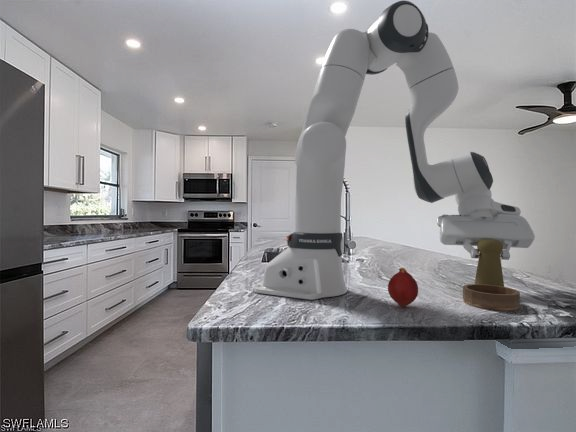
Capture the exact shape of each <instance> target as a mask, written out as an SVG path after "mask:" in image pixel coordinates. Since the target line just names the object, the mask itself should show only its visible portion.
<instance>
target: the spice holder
mask: <svg viewBox="0 0 576 432" xmlns="http://www.w3.org/2000/svg"><path fill="white" fill-rule="evenodd" d="M520 293H521V292H520V291H518V290H517V289H513V288H511V287H506V286H504V287H502V286H496V285H486V284H474V283H469V284H468V283H467V284H464V285H463V286H462V301H463V303H464V302H465V303H464V304H466V303H467V304H466V305H468V304H469V305H468V306H471V305H472V306H471V307H474V306H475V307H474V308H477V309H482V310H488V311H496V312H497V311H499V312H513V311H517V310H520V305H521V304H520V303H521V299H520V298H521V296H520V295H521V294H520Z"/></svg>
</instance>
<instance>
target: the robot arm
mask: <svg viewBox="0 0 576 432" xmlns="http://www.w3.org/2000/svg"><path fill="white" fill-rule="evenodd" d="M393 65H395V66H397V67H398V68H399V69H400V70H401V71H402V72H403V74H404V78H405V80H406V84H407V87H408V89H409V93H410V107H409V109H408V110H407V111H406V113H405V117H404V118H405V119H404V121H405V130H406V139H407V144H408V150H409V156H410V162H411V167H412V176H413V177H412V178H413V188H414V192H415V194H416V196H417V198H418V199H420V200H422V201H424V202H428V203H431V204H433V203H436V202H438V201H441V200H444V199H445V198H448V197H452V196H454V197H455V202H456V204H457V205H458V206H457V211H458V214H441V216H438V217H437V218H436V223H437V226H438V227H439V242H440V243H441V244H443V245H445V246H462V247H463V249H464V250H466V252H468V253H469V255H470V258H471V259H479V256H480V252H479V250H478V248H475V247H477V244H478V242H479V241H480V240H483V239H494V240H498V241H501V242H502V244H503V250H502V252H501V253H500V258H501V261H502V260H505V261H509V260H510V258H511V254H510V249H511V248H516V249H517V248H518V249H520V248H521V249H529V248H530V246H532V244H533V242H534V241H535V236H536V235H535V233H534V231H533V229H532V227H531V225H530V223H529V222H528V220H527V219H526V218H525V217H524V216H522V215H521V214H522V213H521V212H522V211H521V209H520V207H518V206H513V205H509V204H504V203H502V202H497V201H495V200H494V199H493V198H492V190H491V188H492V186H493V183H494V178H493V175H492V173H491V171H490V168H489V165H488V162H487V159H486V158H485V156H483V155H481V154H479V153H477V152H474V151H469V152H466V153H462V154H460V155H457V156H454V157H451V158H450V159H446V160H443V161H441V162H438V163H434V164H429V163H428V158H427V157H428V156H427V152H426V146H425V145H426V144H425V138H424V136H425V132H426V131H427V129H428V128H429V126H430V125H431V124H432V123H433V121H435V120H436V119H438V118H439V117H440V116H441V115H442V114H443V113H444V112H445V111H446V110H447V109H448V108H449V107H450V106H451V105H452V104H453V103H454V101H455V100H456V98H457V95H458V93H459V83H458V78H457V73H456V71H455V68H454V64H453V62H452V60H451V56H450V54H449V53H448V51H447V49H446V47H445V45H444V44H443V42H442V40H441V39H440V37H439V36H438V34H436V33H435V32H429V26H428V23H427V22H426V18H425V16H424V14H423V12H422V11H421V9H420V8H419V7H418V6H417V5H416V4H414V3H413V2H412V1H409V0H398V1H396V2H394V3H392V4H391V5H389V6H388V7H387V8H385V9H384V10H383V11H382V13H381V14H380V15H378V17H377V18H376V19H375V20H374V21H373V22H372V23H371V24H370V25H369V26H368V27H367V29H366V30H365V31H364V32H363V31H360V30H359V29H356V28H345V29H342V30H341V31H339V32H337V34H336V35H335V36H334V37H333V39H332V40H331V43H330V44H329V47H328V49H327V50H326V53H325V55H324V58H323V60H322V62H321V65H320V70H319V72H318V76H317V79H316V82H315V86H314V89H313V92H312V96H311V99H310V102H309V106H308V109H307V112H306V115H305V120H304V121H303V126H302V128H301V129H302V130H301V133H300V136H299V137H298V140H297V143H296V144H297V146H296V149H295V152H294V159H295V160H294V161H295V164H296V179H295V180H296V181H295V182H296V184H295V214H294V215H295V220H294V221H295V229H294V230H295V231H294V232H293V233H290V234H289V235H288V236H286V242H287V244H286V245H287V248H285V249H284V250H283V251H281V252H280V253H279V254H277V255H276V256H275V257H274V258H273V259H272V260H270V261H269V262H268V263H267V264H266V266H265V269H264V273H263V279H262V280H261V281H258V282H257V283H256V284H255V285H254V288H253V291H254V292H255V293H257V294H263V295H264V294H265V295H271V296H278V297H279V296H280V297H285V298H286V297H287V298H295V299H303V300H318V299H322V298H331V297H338V296H341V295H344V294H346V293H347V292H348V288H347V286H346V281H345V276H344V269H343V261H342V260H343V258H342V256H343V253H344V238H343V232H341V231H342V228H341V227H342V225H341V224H342V220H341V219H342V194H343V193H342V192H343V186H344V176H345V165H346V152H347V139H346V136H347V134H348V131H349V130H348V129H349V127H350V125H351V122H352V119H353V117H354V115H355V113H356V109H357V105H358V102H359V98H360V95H361V91H362V89H363V86H364V83H365V82H364V81H365V79H366V75H369V76H370V75H377V74H382V73H383V72H385V71H386V70H387V69H388V68H390V67H391V66H393Z"/></svg>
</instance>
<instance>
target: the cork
mask: <svg viewBox="0 0 576 432" xmlns="http://www.w3.org/2000/svg"><path fill="white" fill-rule="evenodd" d="M476 249H478V250H479V253H480V256H479V258H478V261H477V267H476V272H475V278H474V283H473V284H486V285H496V286H502V287H505V283H504V274H503V266H502V260H501V257H500V253H501V252H502V250H504V249H503V244H502V242H501V241H498V240H494V239H483V240H480V241H479V242H478V244H477V246H476Z"/></svg>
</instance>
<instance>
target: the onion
mask: <svg viewBox="0 0 576 432" xmlns="http://www.w3.org/2000/svg"><path fill="white" fill-rule="evenodd" d="M398 270H399V271H398V272H396V273H395V274H393V275H392V276H391V278H390V279H389V280H388V284H387V292H388V295H389V296H390V298H391V300H393V301H394V302H395V303H396V304H397V305H398V306H399V307H400V308H406V307H407V306H409V305H410V304H412V303H413V302H415V300H416V299H417V298H418V296H419V286H418V282H417V281H416V279H415V278H414V277H413V276H412V274H410V273H409V272H408V271H407V270H406V268H404V267H401V268H398Z"/></svg>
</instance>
